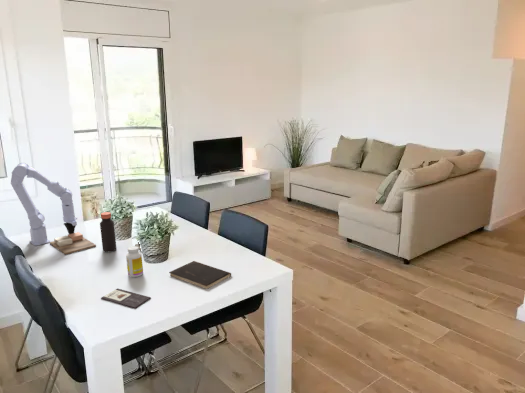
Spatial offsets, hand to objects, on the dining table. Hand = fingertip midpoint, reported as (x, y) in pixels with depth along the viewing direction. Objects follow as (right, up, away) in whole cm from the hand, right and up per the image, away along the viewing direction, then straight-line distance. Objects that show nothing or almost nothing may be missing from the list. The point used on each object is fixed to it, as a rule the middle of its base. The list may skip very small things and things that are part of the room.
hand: (71, 234), depth 241 cm
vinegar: (+27, -7, -16) cm, 32 cm away
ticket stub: (+4, -2, -4) cm, 6 cm away
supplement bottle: (+49, -14, -46) cm, 69 cm away
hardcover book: (+79, -15, -47) cm, 93 cm away
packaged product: (+48, -7, -16) cm, 51 cm away
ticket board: (+5, -5, -9) cm, 11 cm away
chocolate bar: (+52, -20, -67) cm, 87 cm away
